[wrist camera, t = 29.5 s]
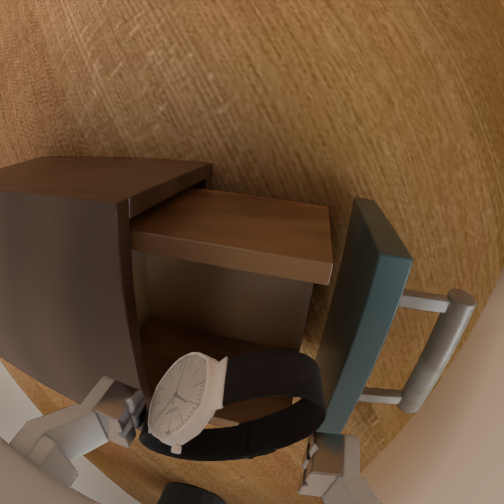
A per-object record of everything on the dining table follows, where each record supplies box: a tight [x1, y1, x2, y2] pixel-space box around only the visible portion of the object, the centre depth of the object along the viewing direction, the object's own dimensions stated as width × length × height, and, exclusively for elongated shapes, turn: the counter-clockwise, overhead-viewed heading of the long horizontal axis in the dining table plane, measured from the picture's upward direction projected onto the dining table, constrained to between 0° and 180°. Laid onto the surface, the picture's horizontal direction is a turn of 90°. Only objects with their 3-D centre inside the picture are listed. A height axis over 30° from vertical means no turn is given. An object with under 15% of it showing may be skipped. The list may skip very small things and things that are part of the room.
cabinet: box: [0, 156, 212, 431], centre depth 17 cm, size 15×13×10 cm
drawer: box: [129, 187, 476, 443], centre depth 15 cm, size 18×11×8 cm, turn 85°
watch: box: [139, 350, 327, 461], centre depth 9 cm, size 8×5×4 cm, turn 132°
